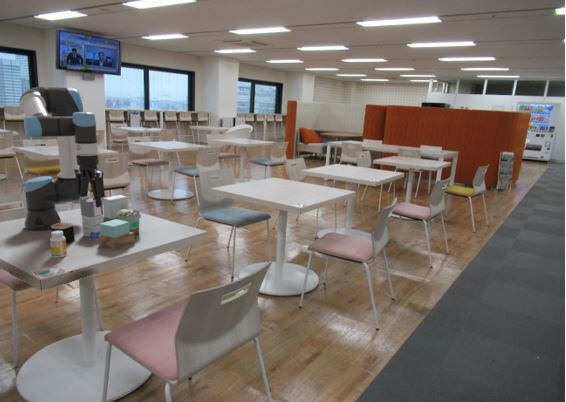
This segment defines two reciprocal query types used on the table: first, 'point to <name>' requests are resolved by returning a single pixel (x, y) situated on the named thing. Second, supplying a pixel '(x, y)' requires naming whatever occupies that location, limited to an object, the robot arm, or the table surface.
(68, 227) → the sushi
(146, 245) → the table surface
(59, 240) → the supplement bottle
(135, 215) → the food container
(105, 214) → the skincare box
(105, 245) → the tower base
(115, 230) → the tower top
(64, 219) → the table surface
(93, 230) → the ink box
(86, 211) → the cube
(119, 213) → the skull
